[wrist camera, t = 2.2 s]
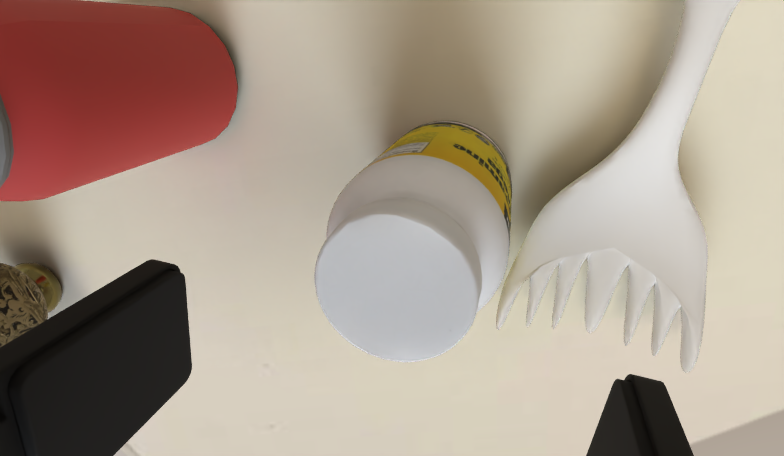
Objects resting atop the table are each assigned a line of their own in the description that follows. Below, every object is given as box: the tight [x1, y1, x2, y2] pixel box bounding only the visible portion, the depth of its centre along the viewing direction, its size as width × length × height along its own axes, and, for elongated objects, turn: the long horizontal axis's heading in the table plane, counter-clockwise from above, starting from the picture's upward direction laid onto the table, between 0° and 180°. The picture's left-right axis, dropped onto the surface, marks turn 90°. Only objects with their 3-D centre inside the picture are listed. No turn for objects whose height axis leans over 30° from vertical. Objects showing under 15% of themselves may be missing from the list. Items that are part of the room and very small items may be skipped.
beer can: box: [0, 0, 238, 201], centre depth 19 cm, size 7×7×12 cm
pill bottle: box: [315, 121, 512, 362], centre depth 18 cm, size 6×6×11 cm
